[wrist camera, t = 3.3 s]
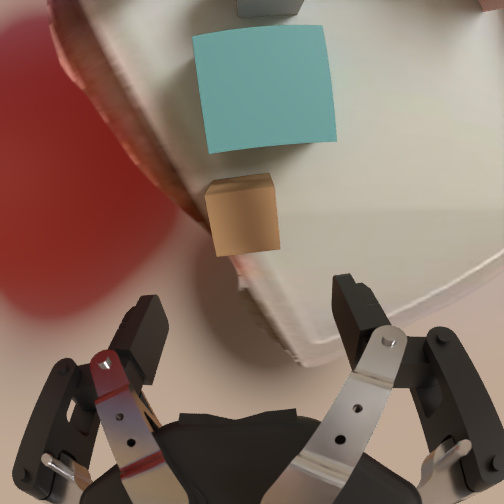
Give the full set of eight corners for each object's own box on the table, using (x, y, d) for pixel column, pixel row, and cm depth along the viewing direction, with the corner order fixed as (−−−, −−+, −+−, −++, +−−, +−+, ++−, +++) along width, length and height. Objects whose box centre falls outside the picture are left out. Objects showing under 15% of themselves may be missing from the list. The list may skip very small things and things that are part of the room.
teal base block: (217, 146, 22) (208, 154, 18) (203, 52, 18) (192, 36, 14) (319, 136, 22) (337, 141, 17) (308, 42, 18) (322, 25, 13)
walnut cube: (222, 231, 26) (216, 256, 21) (213, 180, 23) (204, 195, 19) (274, 224, 25) (280, 249, 21) (269, 172, 23) (274, 186, 19)
